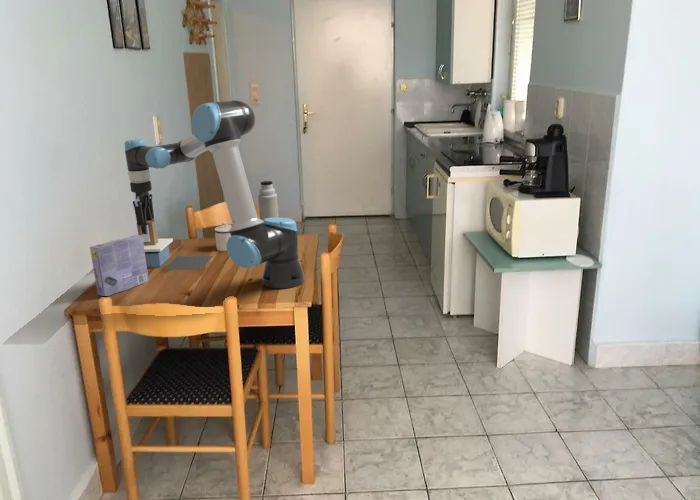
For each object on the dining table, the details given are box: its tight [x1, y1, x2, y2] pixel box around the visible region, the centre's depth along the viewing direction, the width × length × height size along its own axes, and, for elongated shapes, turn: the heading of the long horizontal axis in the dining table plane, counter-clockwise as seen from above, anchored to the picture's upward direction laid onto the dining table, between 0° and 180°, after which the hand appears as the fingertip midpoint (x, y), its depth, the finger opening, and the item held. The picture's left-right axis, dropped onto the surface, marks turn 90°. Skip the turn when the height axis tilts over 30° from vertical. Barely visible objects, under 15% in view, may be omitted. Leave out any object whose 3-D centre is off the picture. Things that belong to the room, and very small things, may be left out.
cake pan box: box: [89, 234, 149, 297], centre depth 201 cm, size 19×5×18 cm, turn 145°
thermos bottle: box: [257, 180, 280, 220], centre depth 242 cm, size 8×8×28 cm
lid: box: [136, 220, 174, 252], centre depth 224 cm, size 14×14×10 cm
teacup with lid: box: [213, 221, 232, 252], centre depth 243 cm, size 12×9×12 cm
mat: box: [163, 255, 214, 271], centre depth 227 cm, size 16×15×1 cm
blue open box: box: [145, 244, 171, 269], centre depth 227 cm, size 11×11×6 cm
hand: (148, 239), depth 225 cm, fingers closed on lid, 3 cm apart
